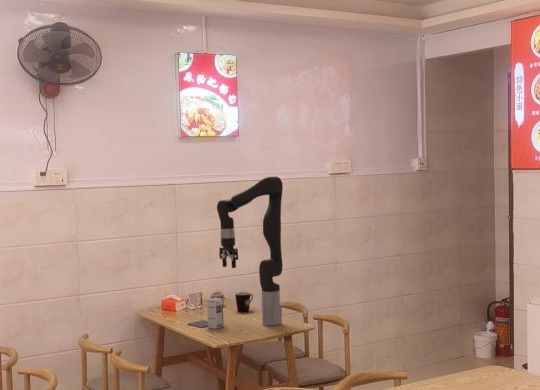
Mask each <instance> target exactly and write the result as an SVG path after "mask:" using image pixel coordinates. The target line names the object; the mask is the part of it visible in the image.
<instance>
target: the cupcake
mask: <svg viewBox="0 0 540 390" xmlns="http://www.w3.org/2000/svg"><path fill="white" fill-rule="evenodd" d="M212 298H222V300H223V305H224V302H225V300H226V297H225V295H224V293H223V292H222V291H221V290H220V289H218V288H216V290H214V291H213V292H212V293H211V295H210V297H209V299H212Z"/></svg>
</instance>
